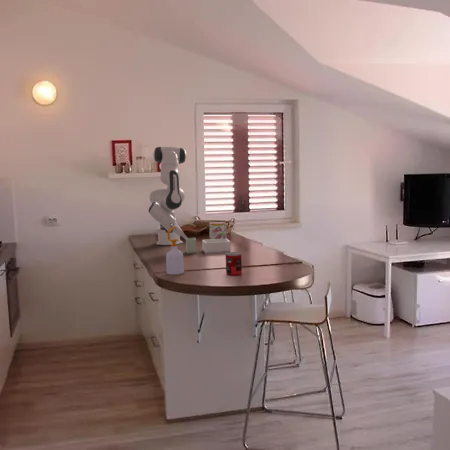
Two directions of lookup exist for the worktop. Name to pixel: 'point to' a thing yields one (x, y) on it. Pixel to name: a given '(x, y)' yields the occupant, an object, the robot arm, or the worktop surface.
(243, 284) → the worktop surface
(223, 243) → the box
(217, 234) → the candy bar box
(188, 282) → the worktop surface
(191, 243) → the small tote
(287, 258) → the worktop surface
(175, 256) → the soap bottle
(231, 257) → the canned food
